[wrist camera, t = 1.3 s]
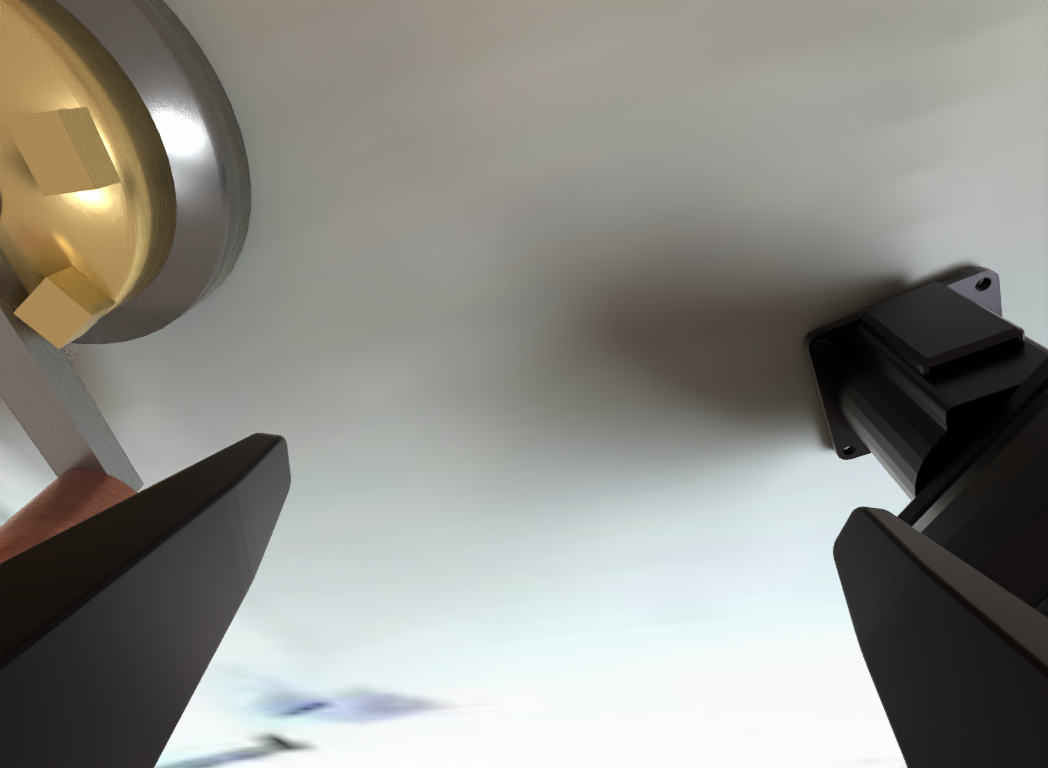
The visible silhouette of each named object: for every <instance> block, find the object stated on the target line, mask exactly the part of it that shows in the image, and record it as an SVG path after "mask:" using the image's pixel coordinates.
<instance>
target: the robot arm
mask: <svg viewBox="0 0 1048 768" xmlns="http://www.w3.org/2000/svg"><path fill="white" fill-rule="evenodd" d="M982 278H984V279H983V282H982V283H981V284H980V285H978V286H977V287H975V286H976V283H977V282H978V281H979V280H980V279H982ZM821 339H825V341H824V342H823V344H822V345H820V346H815V345H816V343H817V342H818V341H819V340H821ZM804 345H805V349H806V353H807V356H808V360H809V364H810V367H811V371H812V374H813V378H814V382H815V385H816V389H817V392H818V396H819V400H820V403H821V407H822V411H823V414H824V418H825V421H826V425H827V429H828V432H829V436H830V439H831V443H832V447H833V449H834V451H835V453H836V454H837V455H838V457H839V458H841V459H844V460H849V459H853V458H856V457H860V456H863V455H866V454H869V453H872V454H873V455H874V456H875V457H876V458H877V460H878V461H879V462H880V463H881V464H882V466H883V467H884V468H885V469H886V470H887V472H888V473H889V474H890V475H891V477H892V478H893V479H894V480H895V481H896V483H897V484H898V485H899V486H900V487H901V489H902V490H903V491H904V492H905V493H906V495H907V496H908V497H909V498H910V499H911V502H910V503H909V504H908V505H907V506H906V507H905V509H904V510H903V511H902V512H901V513H900V514H899V515H898V516H897V517H896V516H895V515H893V514H892V513H890V512H889V511H887V510H884V509H878V508H870V507H858V508H856V509H855V510H853V512H852V513H851V515H850V516H849V518H848V520H847V522H846V523H845V525H844V527H843V528H842V530H841V532H840V534H839V535H838V537H837V539H836V541H835V543H834V547H833V556H834V561H835V564H836V568H837V571H838V575H839V578H840V581H841V585H842V588H843V592H844V595H845V599H846V602H847V606H848V609H849V613H850V616H851V619H852V623H853V626H854V630H855V633H856V636H857V640H858V643H859V646H860V649H861V652H862V654H863V657H864V660H865V662H866V665H867V668H868V670H869V673H870V675H871V678H872V680H873V683H874V685H875V688H876V690H877V693H878V695H879V698H880V700H881V703H882V705H883V708H884V710H885V713H886V715H887V718H888V720H889V723H890V725H891V728H892V730H893V733H894V735H895V738H896V740H897V743H898V745H899V748H900V750H901V753H902V755H903V757H904V760H905V762H906V765H907V767H908V768H1048V349H1047V348H1046V347H1044V346H1042V345H1040V344H1039V343H1037V342H1035V341H1033V340H1032V339H1030V338H1028V337H1026V336H1025V334H1024V330H1023V329H1022V328H1021V327H1019V326H1017V325H1015V324H1013V323H1012V322H1010V321H1008V320H1006V319H1005V318H1003V317H1002V308H1001V295H1000V282H999V277H998V274H997V273H995V272H994V271H992V270H990V269H988V268H985V267H978V268H974V269H971V270H969V271H966V272H964V273H961V274H959V275H956V276H953V277H951V278H948V279H946V280H943V281H940V282H932V283H930V284H927V285H924V286H922V287H919V288H917V289H914V290H911V291H909V292H906V293H904V294H901V295H898V296H896V297H893V298H891V299H888V300H886V301H883V302H880V303H878V304H875V305H873V306H870V307H867V308H865V309H864V310H863V311H862V312H860V313H857V314H855V315H852V316H849V317H847V318H844V319H842V320H839V321H836V322H834V323H831V324H829V325H826V326H824V327H821V328H818V329H816V330H814V331H812V332H810V333H809V334H808V335H807V336H806V339H805V341H804ZM848 446H850V447H849V448H848V449H845V448H846V447H848ZM290 483H291V474H290V466H289V457H288V449H287V443H286V440H285V438H284V437H282V436H280V435H273V434H265V433H255V434H253V435H251V436H249V437H247V438H245V439H243V440H241V441H239V442H237V443H235V444H233V445H231V446H229V447H227V448H225V449H223V450H221V451H219V452H217V453H215V454H213V455H211V456H209V457H207V458H206V459H204V460H202V461H200V462H198V463H196V464H194V465H192V466H190V467H188V468H186V469H184V470H182V471H180V472H178V473H176V474H174V475H172V476H170V477H168V478H166V479H164V480H162V481H160V482H158V483H156V484H154V485H152V486H151V487H149V488H147V489H145V490H143V491H141V492H139V493H137V494H135V495H133V496H131V497H129V498H127V499H125V500H123V501H121V502H119V503H117V504H115V505H113V506H111V507H109V508H107V509H105V510H103V511H101V512H99V513H97V514H96V515H94V516H92V517H90V518H88V519H86V520H84V521H82V522H80V523H78V524H76V525H74V526H72V527H70V528H68V529H66V530H64V531H62V532H60V533H58V534H56V535H54V536H52V537H50V538H48V539H46V540H44V541H42V542H40V543H38V544H37V545H35V546H33V547H31V548H29V549H27V550H25V551H23V552H21V553H19V554H17V555H15V556H13V557H11V558H9V559H7V560H5V561H3V562H1V563H0V768H154V767H155V765H156V763H157V761H158V759H159V757H160V755H161V754H162V752H163V750H164V748H165V746H166V744H167V742H168V740H169V738H170V737H171V735H172V733H173V731H174V729H175V727H176V725H177V723H178V722H179V720H180V718H181V716H182V714H183V712H184V710H185V708H186V707H187V705H188V703H189V701H190V699H191V697H192V695H193V693H194V691H195V690H196V688H197V686H198V684H199V682H200V680H201V678H202V676H203V675H204V673H205V671H206V669H207V667H208V665H209V663H210V661H211V660H212V658H213V656H214V654H215V652H216V650H217V648H218V646H219V645H220V643H221V641H222V639H223V637H224V635H225V633H226V631H227V629H228V628H229V626H230V624H231V622H232V620H233V618H234V616H235V614H236V613H237V611H238V609H239V607H240V605H241V603H242V601H243V599H244V598H245V596H246V594H247V592H248V590H249V588H250V586H251V584H252V582H253V580H254V577H255V575H256V573H257V570H258V568H259V566H260V563H261V561H262V558H263V555H264V553H265V550H266V548H267V545H268V543H269V540H270V538H271V535H272V533H273V530H274V528H275V525H276V523H277V520H278V517H279V515H280V512H281V510H282V507H283V505H284V502H285V500H286V497H287V495H288V492H289V488H290Z"/></svg>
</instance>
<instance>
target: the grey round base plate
mask: <svg viewBox="0 0 1048 768" xmlns="http://www.w3.org/2000/svg"><path fill="white" fill-rule="evenodd" d="M56 1H57V2H58V3H59V4H61V5H62V6H63V7H64V8H66V9H67V10H68V11H69V12H71V13H72V14H73V15H74V16H75V17H76V18H77V19H78V20H79V21H80V22H81V23H82V24H83V25H84V26H85V27H86V28H87V29H88V30H89V31H90V32H91V33H92V34H93V35H94V36H95V37H96V38H97V39H98V40H99V41H100V42H101V44H102V45H103V46H104V47H105V48H106V49H107V51H108V52H109V53H110V54H111V55H112V56H113V57H114V59H115V60H116V61H117V63H118V64H119V65H120V67H121V68H122V69H123V71H124V72H125V74H126V75H127V76H128V78H129V79H130V80H131V82H132V83H133V85H134V86H135V88H136V90H137V91H138V93H139V95H140V96H141V98H142V100H143V102H144V103H145V105H146V107H147V108H148V110H149V112H150V114H151V116H152V118H153V121H154V123H155V125H156V127H157V129H158V131H159V133H160V136H161V138H162V141H163V144H164V147H165V150H166V152H167V155H168V158H169V162H170V166H171V170H172V175H173V179H174V184H175V193H176V202H177V216H176V229H175V235H174V241H173V245H172V248H171V251H170V253H169V256H168V259H167V261H166V263H165V265H164V266H163V268H162V270H161V272H160V273H159V275H158V276H157V277H156V279H155V280H154V281H153V282H152V283H151V284H150V286H149V287H148V288H146V289H145V290H144V291H143V292H141V293H140V294H139V295H138V296H136V297H135V298H133V299H131V300H130V301H128V302H126V303H125V304H123V305H121V306H119V307H118V308H116V309H114V310H112V311H111V312H109V313H107V314H105V315H104V316H102V317H101V318H100V319H99V320H98V321H97V322H96V323H95V324H94V325H93V326H92V327H91V328H90V329H89V330H88V331H87V332H86V333H85V334H84V335H82V336H80V337H79V338H77V339H75V340H74V341H72V342H71V343H79V344H107V343H116V342H124V341H128V340H132V339H136V338H139V337H143V336H146V335H148V334H150V333H153V332H155V331H157V330H159V329H162V328H163V327H165V326H166V325H168V324H169V323H171V322H172V321H174V320H175V319H177V318H178V317H180V316H181V315H183V314H184V313H186V312H187V311H188V310H190V309H191V308H193V307H194V306H196V305H197V304H198V303H200V302H201V301H203V300H204V299H206V298H207V297H208V296H209V295H210V294H212V293H213V292H214V291H215V290H216V289H217V288H218V287H219V286H220V285H221V284H222V283H223V281H224V280H225V279H226V277H227V276H228V274H229V273H230V272H231V270H232V269H233V267H234V265H235V263H236V261H237V259H238V257H239V255H240V253H241V251H242V247H243V244H244V241H245V237H246V234H247V230H248V223H249V216H250V209H251V184H250V176H249V168H248V160H247V155H246V151H245V147H244V143H243V139H242V135H241V131H240V128H239V126H238V123H237V120H236V117H235V115H234V112H233V109H232V106H231V104H230V101H229V99H228V97H227V95H226V93H225V91H224V89H223V87H222V85H221V83H220V81H219V79H218V77H217V75H216V73H215V71H214V70H213V68H212V66H211V65H210V63H209V61H208V60H207V58H206V56H205V55H204V53H203V51H202V50H201V48H200V47H199V45H198V44H197V42H196V41H195V40H194V38H193V37H192V36H191V34H190V33H189V32H188V30H187V29H186V27H185V26H184V25H183V23H182V22H181V21H180V19H179V18H178V17H177V16H176V15H175V13H174V12H173V11H172V10H171V9H170V8H169V7H168V6H167V5H166V3H165V2H164V1H163V0H56Z"/></svg>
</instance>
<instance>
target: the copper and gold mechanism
mask: <svg viewBox="0 0 1048 768" xmlns="http://www.w3.org/2000/svg"><path fill="white" fill-rule="evenodd" d="M176 216H177V202H176V193H175V184H174V179H173V175H172V170H171V166H170V162H169V158H168V155H167V152H166V150H165V147H164V144H163V141H162V138H161V136H160V133H159V131H158V129H157V127H156V125H155V123H154V121H153V118H152V116H151V114H150V112H149V110H148V108H147V107H146V105H145V103H144V102H143V100H142V98H141V96H140V95H139V93H138V91H137V90H136V88H135V86H134V85H133V83H132V82H131V80H130V79H129V78H128V76H127V75H126V74H125V72H124V71H123V69H122V68H121V67H120V65H119V64H118V63H117V61H116V60H115V59H114V57H113V56H112V55H111V54H110V53H109V52H108V51H107V49H106V48H105V47H104V46H103V45H102V44H101V42H100V41H99V40H98V39H97V38H96V37H95V36H94V35H93V34H92V33H91V32H90V31H89V30H88V29H87V28H86V27H85V26H84V25H83V24H82V23H81V22H80V21H79V20H78V19H77V18H76V17H75V16H74V15H73V14H72V13H71V12H69V11H68V10H67V9H66V8H64V7H63V6H62V5H61V4H59V3H58V2H57V1H56V0H0V396H1V397H2V399H3V400H4V401H5V403H6V404H7V406H8V407H9V409H10V410H11V411H12V413H13V414H14V416H15V417H16V419H17V420H18V421H19V423H20V424H21V426H22V427H23V428H24V430H25V431H26V433H27V434H28V436H29V437H30V438H31V440H32V441H33V443H34V444H35V446H36V447H37V448H38V450H39V451H40V453H41V454H42V456H43V457H44V458H45V460H46V461H47V463H48V464H49V466H50V467H51V468H52V470H53V471H54V473H55V474H56V475H57V477H58V478H57V479H56V480H55V481H53V482H52V483H51V484H50V485H49V486H48V487H46V488H45V489H44V490H43V491H42V492H41V493H39V494H38V495H37V496H36V497H35V498H34V499H32V500H31V501H30V502H29V503H28V504H27V505H25V506H24V507H23V508H22V509H21V510H20V511H18V512H17V513H16V514H15V515H14V516H13V517H11V518H10V519H9V520H8V521H7V522H6V523H4V524H3V525H2V526H1V527H0V563H1V562H3V561H5V560H7V559H9V558H11V557H13V556H15V555H17V554H19V553H21V552H23V551H25V550H27V549H29V548H31V547H33V546H35V545H37V544H38V543H40V542H42V541H44V540H46V539H48V538H50V537H52V536H54V535H56V534H58V533H60V532H62V531H64V530H66V529H68V528H70V527H72V526H74V525H76V524H78V523H80V522H82V521H84V520H86V519H88V518H90V517H92V516H94V515H96V514H97V513H99V512H101V511H103V510H105V509H107V508H109V507H111V506H113V505H115V504H117V503H119V502H121V501H123V500H125V499H127V498H129V497H131V496H133V495H135V494H137V491H138V490H139V489H140V488H141V487H142V486H143V485H144V484H143V482H142V480H141V479H140V477H139V475H138V474H137V472H136V470H135V469H134V467H133V466H132V464H131V462H130V461H129V459H128V457H127V456H126V454H125V452H124V451H123V449H122V447H121V446H120V444H119V442H118V441H117V439H116V437H115V436H114V434H113V432H112V431H111V429H110V428H109V426H108V424H107V423H106V421H105V419H104V418H103V416H102V414H101V413H100V411H99V409H98V408H97V406H96V404H95V403H94V401H93V399H92V398H91V396H90V394H89V393H88V391H87V390H86V388H85V386H84V385H83V383H82V381H81V380H80V378H79V376H78V375H77V373H76V371H75V370H74V368H73V366H72V365H71V363H70V361H69V360H68V358H67V356H66V355H65V353H64V352H63V350H62V347H63V346H65V345H67V344H69V343H70V342H72V341H74V340H75V339H77V338H79V337H80V336H82V335H84V334H85V333H86V332H87V331H88V330H89V329H90V328H91V327H92V326H93V325H94V324H95V323H96V322H97V321H98V320H99V319H100V318H101V317H102V316H104V315H105V314H107V313H109V312H111V311H112V310H114V309H116V308H118V307H119V306H121V305H123V304H125V303H126V302H128V301H130V300H131V299H133V298H135V297H136V296H138V295H139V294H140V293H141V292H143V291H144V290H145V289H146V288H148V287H149V286H150V284H151V283H152V282H153V281H154V280H155V279H156V277H157V276H158V275H159V273H160V272H161V270H162V268H163V266H164V265H165V263H166V261H167V259H168V256H169V253H170V251H171V248H172V245H173V241H174V235H175V229H176Z"/></svg>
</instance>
